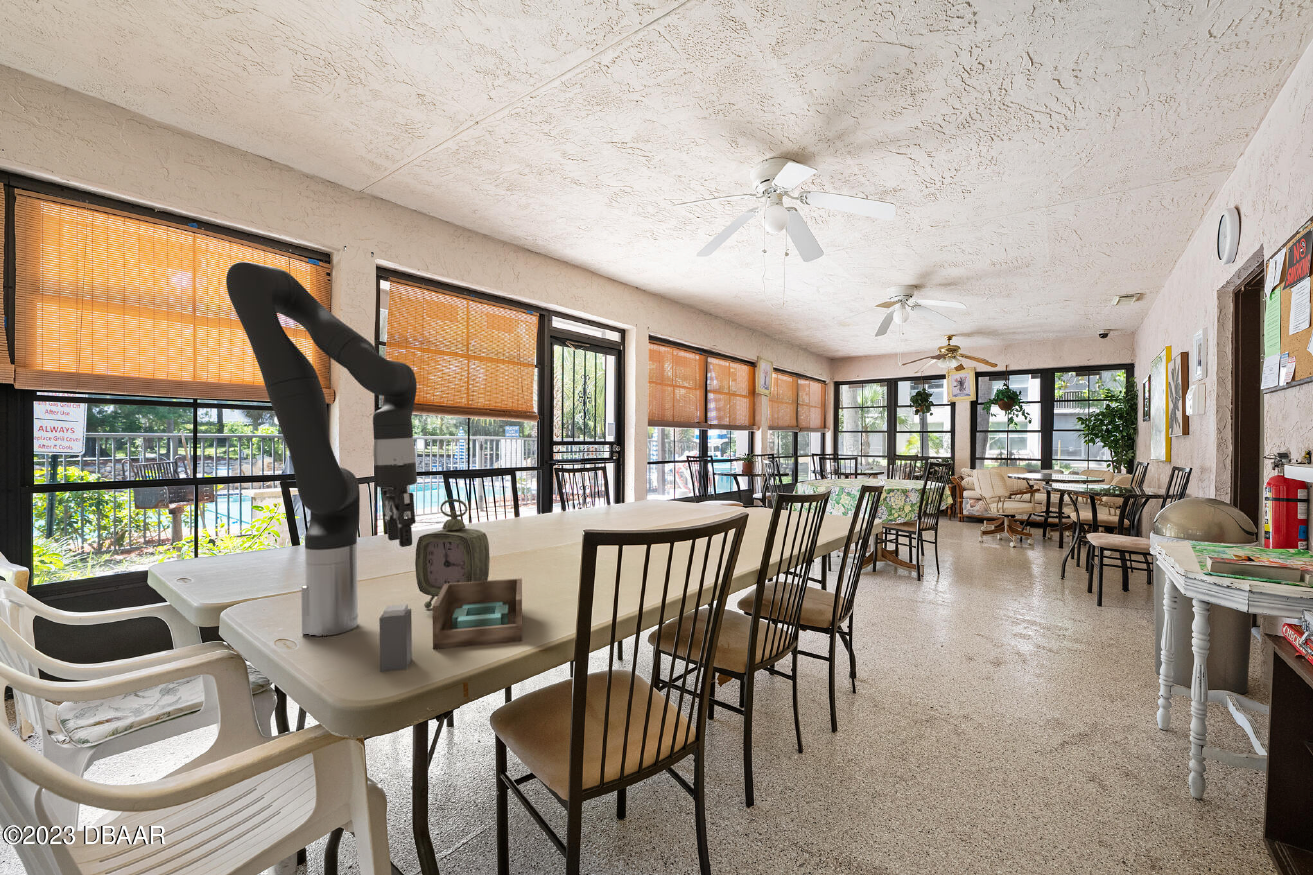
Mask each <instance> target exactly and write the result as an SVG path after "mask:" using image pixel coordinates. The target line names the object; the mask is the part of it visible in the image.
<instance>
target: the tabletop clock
mask: <svg viewBox="0 0 1313 875" xmlns="http://www.w3.org/2000/svg"><path fill="white" fill-rule="evenodd" d="M448 503H459V504H462V505H463V507H464V509H465V510H464V512H462V513H459V514H458V513H457V511H456V510H453V511H451V513H448V512H445V511H444V510H443V508H444V506H445V504H448ZM440 504H441V505H440V506H439V507H440V512H441V513H442V514H443V516H445V517H448V519H447V520H445V522H444V523H443V524H442V525H443V526H442V529H440V530H437V531H432V532H429V533H426V534H423V535H421V536H419V537H418V539H417V543H416V547H415V563H414V565H415V567H414V568H415V576H416V577H415V578H416V584H417V587H418V589H419V592H420V593H421V594H424V595H427V596H430V598H429V600H427V601H425V603H424V608H425V609H430V608H431V607H433V603H432V602H433V600H434V599H435V597H436V598H437V597H438V595H439V593H440V591H441V590H442V588H443V586H444V584H447V583H461V582H476V581H489V574H490V561H491V560H490V545H489V539H488V536H487V533H485V532H484V531H482V530H480V529H475V528H466V524H465V522H464V521H463V520H462V519H461V517H463V516H465V515H466V514H467V512H468V506H467V504H466V502H464V501H463V500H461V499H457V498H449V499H446V500H444V501H443V502H442V503H440ZM449 518H450V519H449Z"/></svg>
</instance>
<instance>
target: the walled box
mask: <svg viewBox="0 0 1313 875" xmlns="http://www.w3.org/2000/svg"><path fill="white" fill-rule="evenodd" d="M521 641H522V642H523V578H522V577H521V578H510V579H509V578H508V579H492V580H491V579H490V580H487V581H476V582H461V583H447V584H444V586H443V588H442V590H441V591H440V593H439V595H438V597H436V599H435V601H434V603H432V649H433V650H439V649H448V648H449V649H450V648H459V647H468V646H469V647H471V646H472V647H473V646H479V645H480V646H481V644H483V645H491V644H501V643H504V644H505V643H512V642H521Z"/></svg>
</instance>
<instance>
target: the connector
mask: <svg viewBox="0 0 1313 875" xmlns="http://www.w3.org/2000/svg"><path fill="white" fill-rule="evenodd" d="M412 621H413V620H412V608H409V606H408V603H403V604H401V603H400V604H389V605H387V606H386V607H385V608H384V610H383V613H382V614H381V616H380V617H379V623H378V624H379V672H382V671H383V672H391V671H401V670H407V669H408V668H409V666H410V664H411V662H412V660H413V645H412V644H413V640H412V639H413V635H412V634H413V632H412V630H413V628H412V623H413V622H412ZM383 672H382V673H383Z"/></svg>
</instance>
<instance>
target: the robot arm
mask: <svg viewBox="0 0 1313 875" xmlns="http://www.w3.org/2000/svg"><path fill="white" fill-rule="evenodd" d="M225 279H226V280H225V283H226V284H225V285H226V290H227V294H228V297H229V299H230V301H231V303H232V306H233V309H234V311H235V313H236V314H237V317H238V320H239V321H240V324H241V325H242V327H243V329H244V332H245V334H246V336H247V338H248V341H249V343H250V346H251V348H252V352H253V354H254V356H255V359H256V362H257V365H258V368H259V371H260V373H261V377H262V380H263V383H264V388H265V389H266V393H267V396H268V399H269V401H270V403H271V406H272V407H271V408H272V409H273V412H274V414H275V417H276V419H277V424H278V426H279V429H280V432H281V434H282V436H283V440H284V441H285V444H286V446H287V449H288V452H289V455H290V459H291V463H292V464H291V465H292V467H293V468H292V469H293V474H294V479H295V482H296V483H295V485H296V488H297V494H298V497H299V499H300V501H301V504H302V505H304V507H305V508H306V509H307V510H308V511H310V515H309V516H310V518H309V524H308V528H307V531H306V533H305V535H304V562H305V563H304V569H305V570H304V574H305V577H304V579H305V580H304V583H305V584H304V585H303V586H302V587H301V589H300V591H301V592H300V594H301V595H300V596H301V635H302V634H309V635H308V636H311V635H316V636H315V637H325V636H326V635H327V636H333V635H334V636H335V635H339V634H343V633H346V632H349V631H351V630H353V629H355V628H357V626H358V625H359V624H358V622H359V618H358V617H359V613H358V612H359V611H358V541H357V540H358V538H357V537H358V531H359V527H360V510H361V509H360V508H361V506H360V505H361V504H360V503H361V500H360V497H361V495H360V494H361V493H360V490H361V489H360V484H359V481H358V479H357V477H356V474H354V473H353V472H352V471H351V470H348V469H347V468H345V467H340V465H339V462H338V461H337V458H336V456H335V454H334V451H333V448H332V445H331V442H330V436H329V417H328V416H329V415H328V414H329V413H328V407H327V400H326V396H325V393H324V390H323V388H322V384H321V381H320V379H319V375H318V372H317V370H316V369H315V366H313V363H311V361H310V360H309V359H308V357H307V356H306V355H305V354H304V353H303V352H302V351H301V349H299V347H298V346H297V345H296V344H295V343H294V341H293V340H292V339H291V338H290V337H289V336H288V335H287V334H288V333H286V331H285V330H284V328H283V326H282V323H281V321H280V319H279V317H278V316H279V315H282V316H283V317H286V318H289V319H290V320H293V321H294V322H295V323H298V324H299V325H300V326H302V327H303V328H304V329H305V331H307V333H308V335H309V337H310V338H311V340H312V342H313V343H314V345H315V346H316V347H317V348H318V349H319V350H320V351H321V352H322V353H324V354H325V355H326V356H327V357H329V358H330V359H331V360H333V361H334V362H336V363H337V364H338V365H340V366H341V367H343V368H344V369H346V370H347V371H348V373H349V374H350V375H351V376H352V377H353V378H354V379H355V381H356V382H357V383H358V384H359V385H360V386H361V387H362V388H364V389H365V390H366V391H367V392H368V391H369V392H370V393H372V394H374V395H375V396H376V395H377V396H381V397H382V396H383V400H382V406H381V408H380V409H378V410H376V411H375V412H374V413H373V415H372V431H373V447H372V451H373V452H372V454H373V470H374V471H373V472H374V474H373V475H374V485H375V487H377V488H383V489H381V500H382V501H381V502H382V517H383V519H384V520H385V522H386V526H387V527H386V529H387V539H388V540H389V541H398V544H399V546H400V548H406V547H411V546H412V545H413V532H412V531H413V530H412V527H413V525H415V524H416V520H417V519H416V515H415V514H416V512H415V510H416V509H415V500H414V499H415V498H414V497H415V495H414V492H408V486H413V485H416V484H417V482H418V477H417V476H418V475H417V462H416V460H417V459H416V447H415V442H414V438H413V437H414V432H413V431H414V430H413V418H412V417H413V416H412V415H413V411H414V407H415V402H416V394H417V385H418V384H417V378H416V374H415V372H414V370H413V369H412V367H411V366H409V364H407V363H405V362H400V361H395V360H389V359H388V358H385V357H384V356H382V355H381V354H379V353H377V350H376V348H375V347H376V346H374V345H373V343H371V342H370V341H369V340H368V339H366V337H364V336H363V335H361V334H360V333H359V332H357V331H356V330H354V329H353V328H352V327H350V326H348V325H347V324H346V323H344V321H341V319H339V318H337V317H336V316H335V315H334V314H333V313H331V311H329V310H328V309H327V308H326V307H325V306H324V305H323V304H322V303H320V302H319V300H318V299H316V298H315V297H314V296H313V295H312V294H311V293H310V292H309V291H308V290H307V289H306V288H305V287H304V286H303V285H302V284H301V282H299V280H297V279H296V278H295V277H294V276H293V275H292V274H291V273H289V272H288V271H286V270H285V269H282V268H278V267H276V266H271V265H268V264H267V265H266V264H261V263H256V262H252V261H251V262H250V261H238V262H235V263H233V264H232V265H231V266H230V267H229V268H228V271H227V273H226V278H225ZM322 635H323V636H322Z"/></svg>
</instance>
